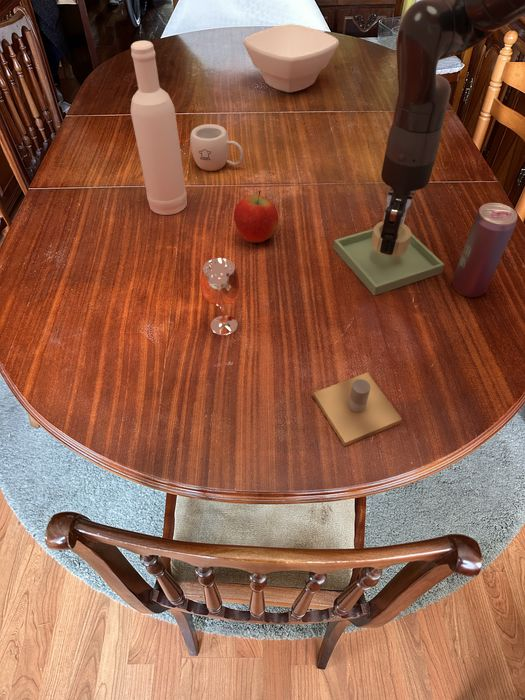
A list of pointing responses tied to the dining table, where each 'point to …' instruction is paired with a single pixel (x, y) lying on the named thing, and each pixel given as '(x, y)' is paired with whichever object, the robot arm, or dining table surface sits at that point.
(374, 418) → the peg stand
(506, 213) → the beverage can
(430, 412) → the dining table surface
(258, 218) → the apple
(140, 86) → the bottle
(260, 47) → the bowl
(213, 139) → the mug
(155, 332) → the dining table surface
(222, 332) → the wineglass
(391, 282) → the tray
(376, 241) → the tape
